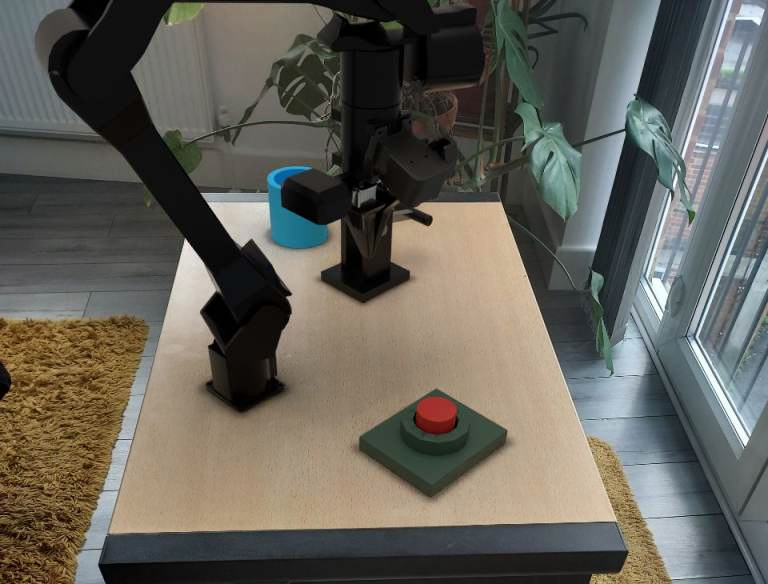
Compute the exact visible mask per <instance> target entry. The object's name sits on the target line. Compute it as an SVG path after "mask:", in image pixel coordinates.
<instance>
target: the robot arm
mask: <svg viewBox="0 0 768 584" xmlns="http://www.w3.org/2000/svg"><path fill="white" fill-rule="evenodd" d="M174 4H309V5H314V6H318V7H323V8H326V9H329V10H331V11H336V12H334V13H333V15H332V16H331V18H330V21H328V23H326V24H325V25H324V26H323V27H322V28H321V29H320V30H319V31H318V32H317V33H316V37H315V39H316V41H317V42H318V43H320V45H322V46H324V47H326V49H327V50H329V51H330V52H332V53H334V54H336V53H339V69H340V70H339V102H340V103H339V105H335V106H333V107H331V108H330V115H331V116H330V119H331V120H332V121H335V122H336V123H340V124H339V125H340V129H339V131H340V149H339V150H336V151H333V152H331V164H332V165H335V166H337V167H339V168H340V169H341V173H339V174H336V175H333V176H332V175H330V174H328V173H326V172H323V171H321V170H319V169H316V168H314V167H311V168H312V169H309V170H306V171H303V172H301V173H298V174H295V175H292V176H290V177H287V178H286V179H285V180H284V181H283V182H282V184H281V190H280V191H281V207H283V208H285V209H287V210H289V211H291V212H293V213H295V214H297V215H299V216H301V217H303V218H305V219H307V220H309V221H311V222H313V223H314V224H316V225H327V226H329V225H330V224H333V223H335V222H337V221H341V219H342V218H345V220H346V222H347V224H348V226H349V228H350V230H351V233H352V235H353V237H354V239H355V241H356V243H357V245H358V248H359V250H360V252H361V254H362V255H363V256H364V257H366V258H371V257H373V256H374V255H375V252H376V249H377V247H378V244H379V242H380V239H381V236H382V234H383V231H384V228H385V226H386V223H387V221H388V218H389V216H390V214H391V212H392V210H393V208H394V206H395V205H397V204H398V203H399V202H400V203H401V204H403V205H404V206H406V207H409V208H415V209H416V208H418V207H420V205H421V204H423V203H426V202H428V201H430V200H433V201H434V200H436V199H438V198H439V195H440V193H441V190H442V188H443V185H444V183H445V182H446V181H448V180H451V179H453V178H455V176H456V170H455V168H456V166H457V163H458V162H457V161H458V142H457V141H456V140H455V139H454V138H453V137H452V136H451V135H449V134H447V133H446V134H444V135H441V136H439V137H436V138H433V137H430V136H428V135H425V134H423V133H421V132H418V131H416V130H413V126H414V125H413V123H414V121H413V118H412V112H410V111H408V110H405V109H403V88H404V86H403V85H404V82H405V83H407V84H409V86H410V88H411V89H412V90H413V91H414V93H416V94H420V95H421V94H428V93H429V94H430V93H434V92H435V93H437V92H443V91H450V90H458V89H466V88H471V87H475V86H476V85H477V84H478V83H479V82H480V80H481V78H482V77H483V75H484V74H483V73H484V71H485V66H486V59H487V58H486V56H487V55H486V52H485V50H484V49H485V48H484V47H485V46H484V41H483V36H482V32H481V29H480V28H479V27H480V26H479V25H478V23H477V15H478V9H477V8H476V7H475V6H474V5H472V4H470V3H467V2H455V3H452V4H449V5H446V6H440V7H439V6H438V7H432V6H431V4H430V3H429V0H71V1H70V2H69V3H68V5H67V6H66V7H65V8H58V9H56V10H54V11H51V12H49V13H47V14H46V15H45V17H44V18H43V19H42V20H41V21H40V22H39V24H38V26H37V29H36V31H35V33H34V53H35V56H36V60H37V62H38V64H39V65H40V67H41V69H42V70H43V72H44V74H45V75H46V77H47V79H48V81H49V82H50V84H51V86H52V88H53V90H54V92H55V93H56V95H57V96H58V98H59V99H60V100H61V101H62V102H63V103H64V104H65V105H66V106H67V107H68V108H69V109H70V110H71V111H72V112H73V113H74V114H75V115H77V117H78V118H80V119H81V120H82V121H83V122H84V123H85V124H86V125H87V126H88V127H89V128H90V129H91V130H92V131H94V133H96V134H97V135H98V136H99V137H101V138H102V139H103V140H104V141H106V142H107V143H108V144H109V145H111V146H112V147H113V148H114V149H115V150H116V151H117V152H118V153H119V154H121V156H122V157H123V158H124V159H125V161H126V162H127V163H128V165H129V166H130V168H131V169H132V170H133V172H134V173H135V174H136V175H137V177H138V178H139V180H140V181H141V182H142V183H143V185H144V186H145V187H146V188H147V190H148V191H149V193H150V194H151V195H152V197H153V198H154V199H155V201H156V202H157V203H158V205H159V206H160V207H161V208H162V210H163V211H164V212H165V214H166V216H167V217H168V218H169V219H170V221H171V222H172V223H173V225H174V226H175V227H176V228H177V230H178V231H179V233H180V234H181V235H182V236H183V238H184V239H185V240H186V241H187V243H188V245H189V246H190V247H191V248H192V249H193V251H194V252H195V254H196V255H197V256H198V258H199V259H200V260H201V262H202V263H203V265H204V267H205V270H206V272H207V274H208V277H209V279H210V281H211V283H212V285H213V287H214V289H215V291H214V292H213V294H212V295H211V296H210V297H209V299H208V300H207V301H206V302H205V303H204V305H203V306H202V308H201V309H200V310H199V314H200V316H201V318H202V319H203V322H204V323H205V324H206V326H207V328H208V329H209V331H210V333H211V335H212V336H213V341H212V343H211V344H208V345H207V352H208V359H209V365H210V371H211V379H210V380H208V381H205V389H206V390H208V391H209V392H210V393H212V394H213V395H215V397H217V398H219V399H220V400H221V401H223V402H224V403H226V404H227V405H229V406H230V407H231V408H233V409H234V410H236V411H237V412H239V413H244V412H246V411H248V410H250V409H251V408H253V407H255V406H257V405H259V404H261V403H262V402H264V401H266V400H268V399H270V398H271V397H273V396H275V395H278V394H279V393H281V392H282V391H284V390H285V389H286V385H285V383H284V382H283V381H281V380H279V379H278V378H276V377H278V374H279V373H278V361H277V349H278V346H279V343H280V339H281V336H282V333H283V330H284V329H286V327H287V325H288V323H290V319H291V316H292V314H293V307H292V305H291V303H290V300H289V299H288V297H291V296H293V292H292V291H291V290H290V289H289V287H288V286H287V285H286V283H285V282H284V281H283V280H282V278H281V277H280V276H279V274H278V272H277V271H276V269H275V267H274V265H273V264H272V263H271V261H270V260H269V258H268V257H267V256H266V254H265V253H264V252H263V251H262V250H261V248H260V246H259V245H258V244H257V243H256V242H255V241H254V239H253V238H250V239H249V240H248V241H247V242H246V243H245V244H243V246H242V245H241V244H239V243H238V242H237V241H236V240H235V239H233V238H232V236H231V234H230V233H229V232H228V231H227V229H226V227H225V226H224V225H223V223H222V222H221V220H220V219H219V218H218V216H217V214H216V213H215V212H214V210H213V209H212V207H211V206H210V205H209V203H208V201H207V200H206V199H205V197H204V196H203V194H202V193H201V191H200V190H199V189H198V188H197V186H196V184H195V182H193V180H192V179H191V177H190V176H189V174H188V173H187V171H186V170H185V169H184V167H183V165H182V164H181V163H180V161H179V160H178V158H177V157H176V155H175V154H174V152H173V151H172V150H171V148H170V147H169V145H168V144H167V142H166V141H165V140H164V138H163V136H162V135H161V133H160V132H159V131H158V130H157V128H156V126H155V123H154V121H153V119H152V117H151V114H150V111H149V109H148V107H147V104H146V102H145V99H144V97H143V94H142V92H141V90H140V88H139V86H138V84H137V82H136V80H135V77H134V75H133V73H132V70H133V69H134V68H135V67H136V66H137V64H138V63H139V61H140V60H141V59H142V58H143V57H144V55H145V53H146V51H147V50H148V47H149V46H150V44H151V41H152V40H153V37H154V35H155V33H156V31H157V30H158V27H159V25H160V24H161V22H162V20H163V17H164V16H165V14H166V13H167V12H168V11H169V10H170V8H171V7H172V6H173V5H174ZM340 13H341V14H340ZM342 14H345V15H349V16H352V17H356V18H361V19H364V20H362V21H361V20H360V21H352V22H350V21H349V20H348V18H347V17H345V16H343V15H342ZM392 22H396V23H397V24H399V25H401V26H402V27H394V28H385V26H384V25H383V24H382V23H384V24H385V23H386V24H387V23H392Z"/></svg>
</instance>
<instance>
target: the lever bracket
mask: <svg viewBox="0 0 768 584" xmlns="http://www.w3.org/2000/svg"><path fill="white" fill-rule="evenodd" d="M393 224H394V223H393V210H392V212H391V214H390V216H389V218H388V221H387V223H386V226H385V228H384V231H383V234H382V236H381V239H380V242H379V244H378V247H377V249H376V252H375V255H374V256H373V257H371V258H366V257H364V256H363V255H362V254H361V252H360V250H359V248H358V245H357V243H356V241H355V239H354V237H353V235H352V233H351V230H350V228H349V226H348V224H347V222H346V220H345V218H342V219H340V262H339V263H337V264H335V265H333V266H330V267H328V268H325V269H324V270H322V271H320V280H321V281H323V282H324V283H327V284H329V285H330V286H332V287H333V288H335V289H337V290H339V291H341V292H343V293H345V294H346V295H348V296H350V297H352V298H353V299H356V300H357V301H359V302H361V303H365V302H367V301H369V300H371V299H373V298H375V297H377V296H379V295H381V294H383V293H385V292H387V291H389V290H391V289H393V288H395V287H397V286H399V285H400V284H403V283H404V282H406V281H408V280H410V279H411V270H409V269H407V268H405V267H403V266H401V265H399V264H397V263H395V262H393V261H392V243H393Z"/></svg>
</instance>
